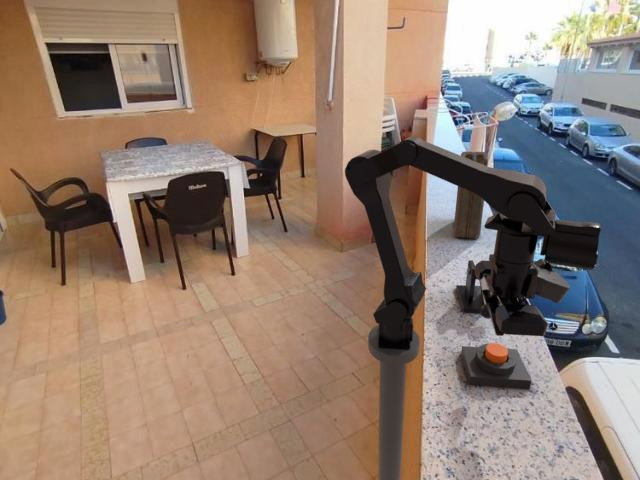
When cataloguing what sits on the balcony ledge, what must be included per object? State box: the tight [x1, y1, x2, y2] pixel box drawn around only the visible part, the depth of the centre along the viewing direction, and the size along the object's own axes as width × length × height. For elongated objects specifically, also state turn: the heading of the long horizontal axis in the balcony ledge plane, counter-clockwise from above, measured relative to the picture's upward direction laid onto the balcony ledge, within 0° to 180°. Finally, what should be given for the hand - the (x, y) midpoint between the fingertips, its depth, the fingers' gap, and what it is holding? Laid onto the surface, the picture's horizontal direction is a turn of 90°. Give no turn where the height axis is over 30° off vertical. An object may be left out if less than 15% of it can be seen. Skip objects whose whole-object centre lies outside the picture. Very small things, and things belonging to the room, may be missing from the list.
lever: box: [476, 274, 491, 320], centre depth 83 cm, size 13×3×3 cm, turn 172°
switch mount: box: [455, 259, 490, 314], centre depth 87 cm, size 10×8×10 cm
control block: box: [460, 343, 532, 390], centre depth 68 cm, size 10×8×4 cm
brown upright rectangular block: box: [453, 151, 489, 239], centre depth 123 cm, size 19×8×25 cm, turn 161°
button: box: [485, 342, 508, 364], centre depth 67 cm, size 4×4×2 cm
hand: (499, 334), depth 66 cm, fingers closed
